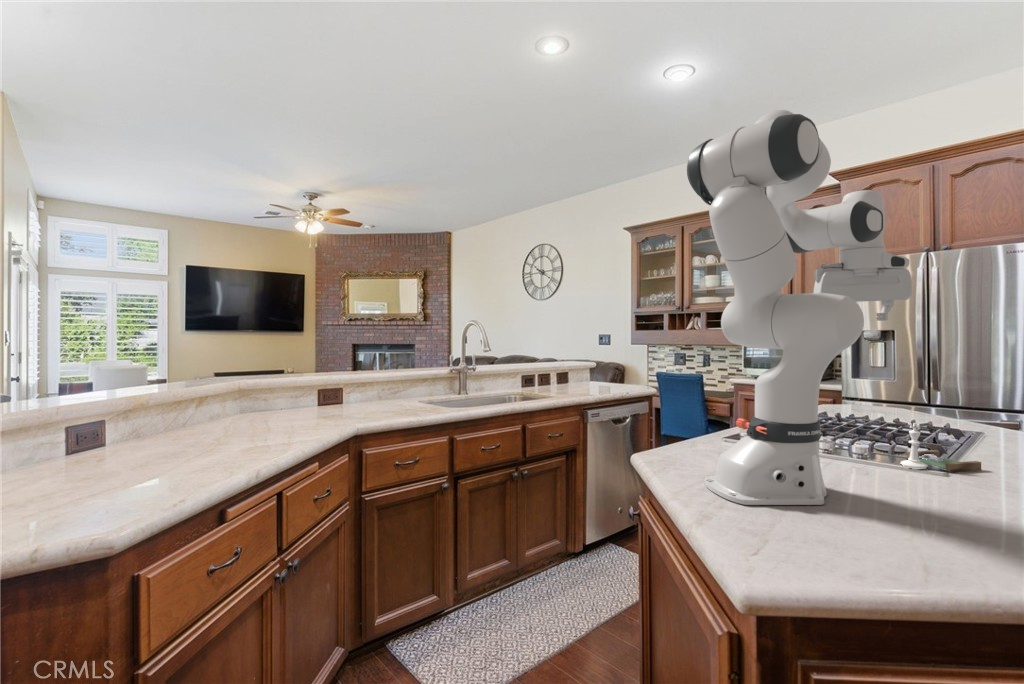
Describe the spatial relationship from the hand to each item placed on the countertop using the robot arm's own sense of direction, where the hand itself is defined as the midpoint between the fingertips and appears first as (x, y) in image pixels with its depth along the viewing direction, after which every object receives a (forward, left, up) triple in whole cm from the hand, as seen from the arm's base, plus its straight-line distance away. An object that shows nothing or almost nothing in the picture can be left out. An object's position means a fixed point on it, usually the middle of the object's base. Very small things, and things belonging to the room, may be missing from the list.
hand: (860, 321), depth 114 cm
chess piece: (+7, -7, -33) cm, 35 cm away
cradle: (+14, -7, -33) cm, 37 cm away
